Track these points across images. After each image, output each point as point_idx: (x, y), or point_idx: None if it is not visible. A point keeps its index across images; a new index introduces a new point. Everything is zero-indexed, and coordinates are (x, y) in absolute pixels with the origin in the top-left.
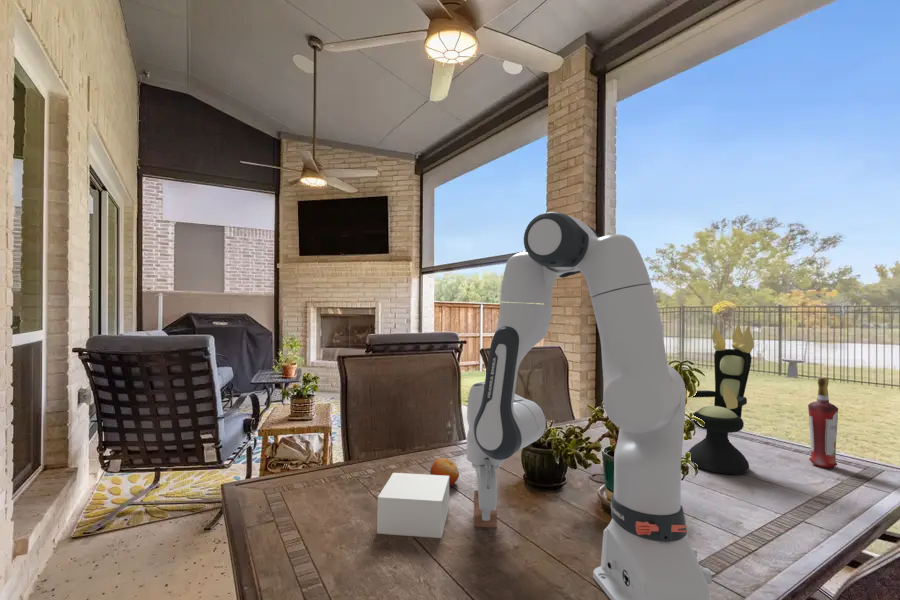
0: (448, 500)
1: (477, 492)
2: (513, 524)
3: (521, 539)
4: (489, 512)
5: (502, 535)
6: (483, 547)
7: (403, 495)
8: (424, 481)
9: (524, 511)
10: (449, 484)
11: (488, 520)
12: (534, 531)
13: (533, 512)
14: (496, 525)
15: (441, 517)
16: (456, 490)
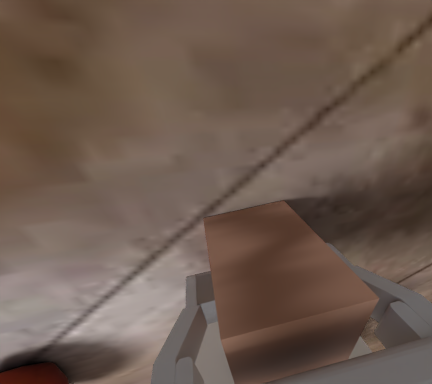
0: (198, 355)
1: (262, 379)
2: (255, 140)
3: (377, 97)
4: (356, 268)
5: (336, 174)
6: (389, 215)
7: None
8: None
9: (88, 83)
10: (49, 379)
11: (326, 243)
12: (320, 17)
13: (68, 7)
14: (288, 205)
15: (371, 352)
16: (54, 346)
